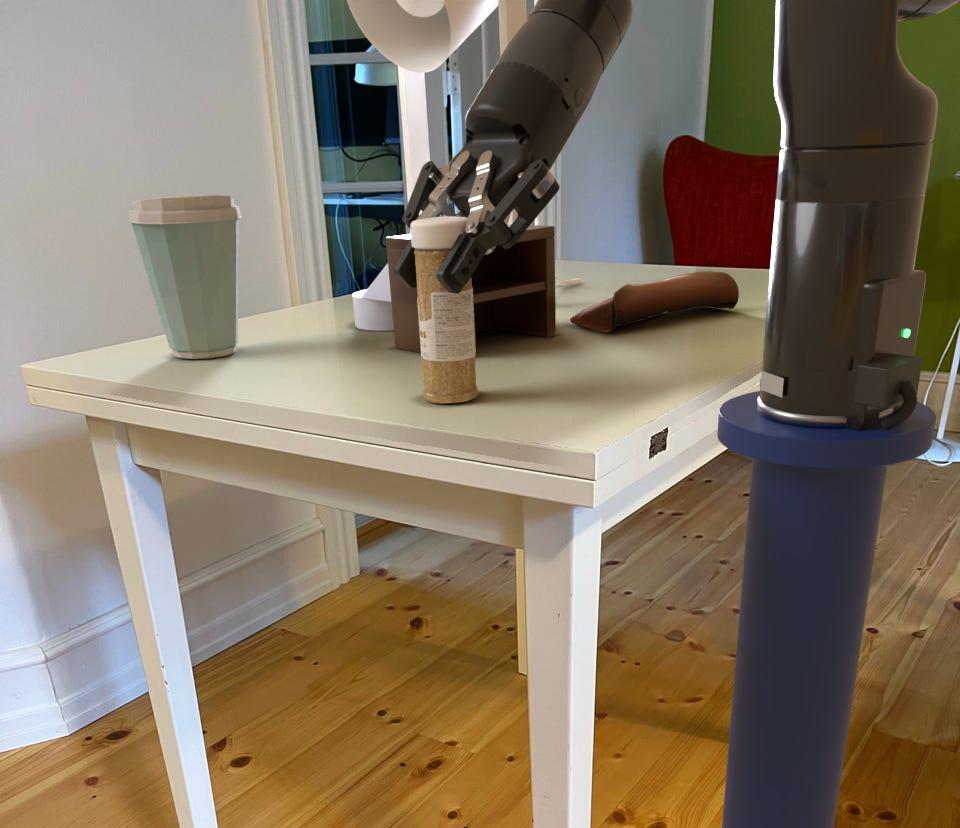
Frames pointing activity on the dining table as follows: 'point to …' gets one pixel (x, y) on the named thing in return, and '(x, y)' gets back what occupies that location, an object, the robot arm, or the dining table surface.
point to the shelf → (490, 289)
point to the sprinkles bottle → (443, 315)
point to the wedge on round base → (374, 305)
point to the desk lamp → (429, 56)
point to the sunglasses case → (659, 300)
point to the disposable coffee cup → (192, 269)
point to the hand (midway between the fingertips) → (425, 282)
